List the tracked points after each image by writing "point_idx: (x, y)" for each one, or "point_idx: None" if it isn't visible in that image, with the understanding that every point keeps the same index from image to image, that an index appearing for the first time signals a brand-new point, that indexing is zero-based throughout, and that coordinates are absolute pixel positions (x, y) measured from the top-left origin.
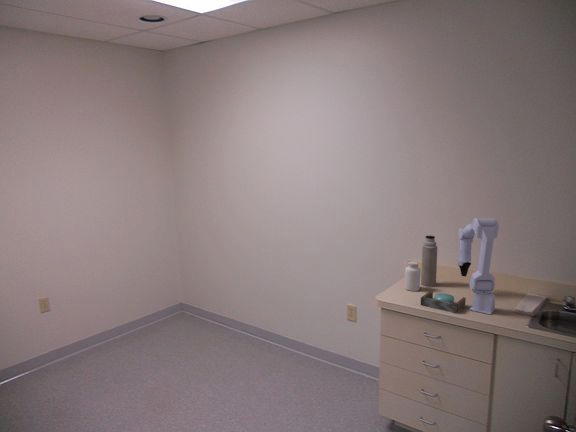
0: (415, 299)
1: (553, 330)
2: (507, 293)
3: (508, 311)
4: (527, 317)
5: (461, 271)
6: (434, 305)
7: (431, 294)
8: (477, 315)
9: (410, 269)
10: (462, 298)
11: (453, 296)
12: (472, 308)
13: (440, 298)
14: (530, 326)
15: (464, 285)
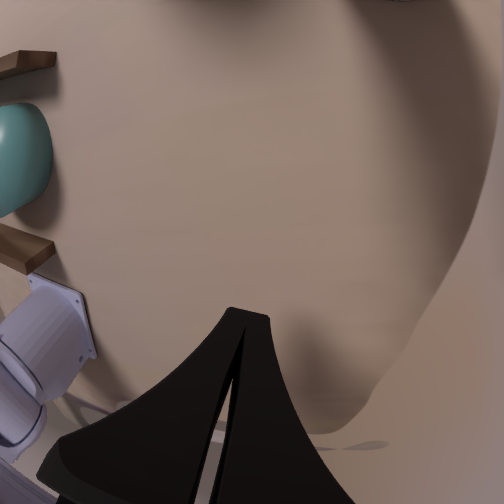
0: (26, 12)
1: (83, 418)
2: (349, 413)
3: (117, 387)
4: (111, 410)
5: (199, 358)
6: None
7: (15, 70)
8: (18, 294)
9: None
10: (12, 260)
11: (9, 210)
12: (37, 284)
13: None
14: (65, 394)
15: (465, 228)
